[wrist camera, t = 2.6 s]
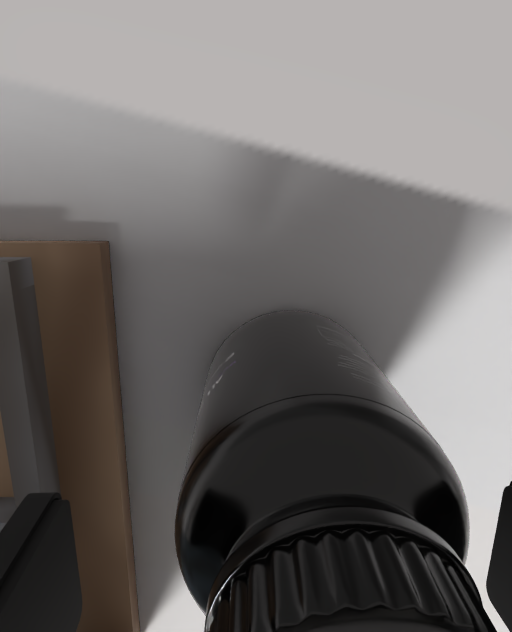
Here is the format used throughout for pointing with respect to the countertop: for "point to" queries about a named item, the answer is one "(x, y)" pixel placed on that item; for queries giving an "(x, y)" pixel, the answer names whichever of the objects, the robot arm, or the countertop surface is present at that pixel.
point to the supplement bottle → (319, 494)
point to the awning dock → (68, 412)
